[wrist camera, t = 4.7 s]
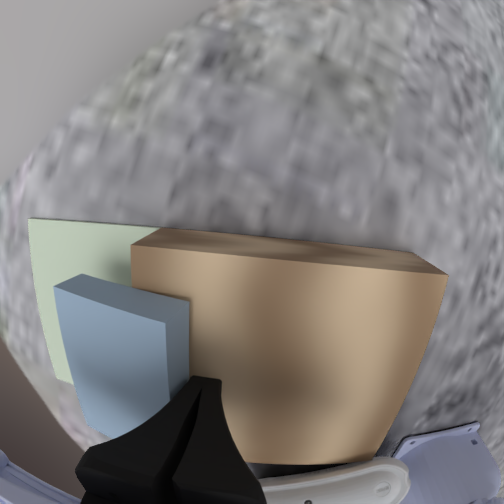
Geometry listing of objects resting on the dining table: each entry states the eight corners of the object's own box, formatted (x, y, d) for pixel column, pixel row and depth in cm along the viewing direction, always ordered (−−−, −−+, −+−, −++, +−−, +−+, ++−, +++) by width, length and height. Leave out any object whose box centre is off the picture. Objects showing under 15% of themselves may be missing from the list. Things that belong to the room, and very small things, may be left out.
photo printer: (225, 541, 11) (429, 502, 10) (219, 484, 14) (419, 445, 13) (259, 516, 19) (393, 490, 18) (254, 477, 22) (386, 450, 21)
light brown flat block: (412, 252, 15) (448, 275, 11) (359, 421, 19) (371, 460, 15) (161, 227, 16) (130, 244, 12) (169, 407, 19) (153, 446, 15)
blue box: (189, 301, 12) (165, 323, 10) (191, 442, 14) (177, 467, 12) (81, 273, 13) (53, 286, 11) (105, 407, 15) (87, 425, 13)
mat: (161, 227, 16) (159, 228, 15) (169, 407, 19) (168, 410, 19) (30, 217, 16) (27, 218, 16) (58, 376, 19) (56, 378, 19)
